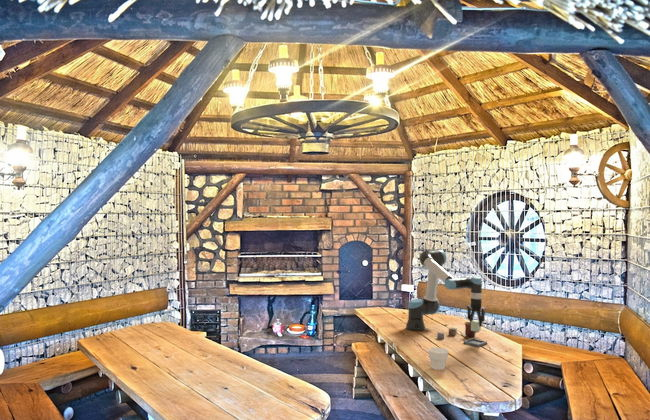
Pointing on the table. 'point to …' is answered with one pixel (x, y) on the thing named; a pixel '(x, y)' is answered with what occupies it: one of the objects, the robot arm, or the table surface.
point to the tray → (475, 342)
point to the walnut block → (452, 331)
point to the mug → (469, 330)
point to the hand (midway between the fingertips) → (475, 330)
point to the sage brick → (474, 325)
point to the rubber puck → (440, 335)
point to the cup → (438, 357)
